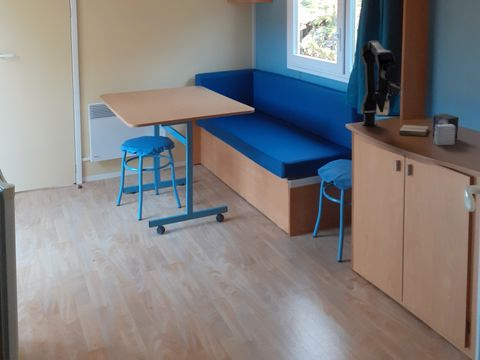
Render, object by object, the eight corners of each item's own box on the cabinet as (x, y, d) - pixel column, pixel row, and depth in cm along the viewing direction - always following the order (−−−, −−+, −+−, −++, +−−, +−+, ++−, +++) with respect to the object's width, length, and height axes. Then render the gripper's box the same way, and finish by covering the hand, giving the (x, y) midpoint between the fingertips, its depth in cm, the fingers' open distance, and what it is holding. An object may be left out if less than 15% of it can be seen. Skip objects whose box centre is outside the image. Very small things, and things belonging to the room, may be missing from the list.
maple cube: (378, 112, 305) (378, 100, 303) (388, 113, 303) (389, 100, 301) (376, 114, 300) (376, 102, 299) (386, 115, 298) (387, 102, 297)
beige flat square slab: (403, 128, 314) (403, 124, 313) (428, 130, 309) (428, 126, 309) (399, 134, 303) (399, 130, 303) (424, 135, 299) (425, 131, 298)
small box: (431, 136, 298) (432, 114, 295) (442, 134, 300) (443, 112, 297) (446, 141, 289) (448, 118, 285) (457, 139, 291) (459, 116, 288)
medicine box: (450, 142, 286) (452, 123, 283) (454, 144, 282) (455, 126, 279) (433, 143, 286) (434, 124, 283) (437, 145, 281) (438, 126, 279)
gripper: (397, 82, 285) (396, 115, 290) (404, 75, 301) (403, 108, 306) (373, 81, 289) (372, 114, 294) (381, 75, 306) (380, 107, 310)
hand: (382, 111), depth 301 cm, fingers closed on maple cube, 5 cm apart
